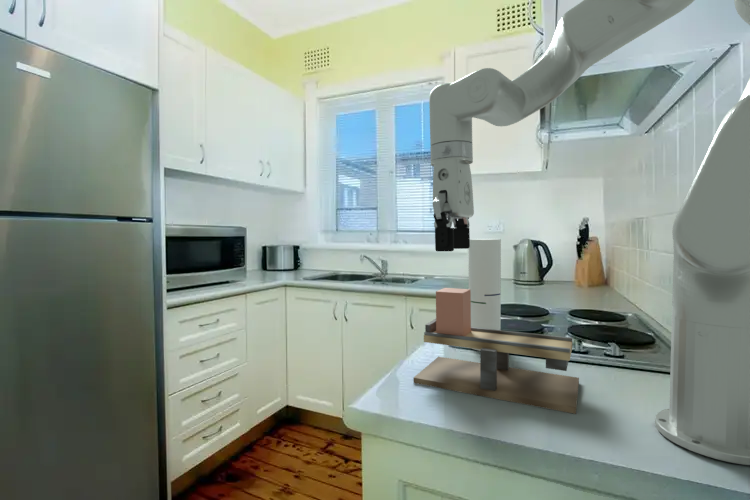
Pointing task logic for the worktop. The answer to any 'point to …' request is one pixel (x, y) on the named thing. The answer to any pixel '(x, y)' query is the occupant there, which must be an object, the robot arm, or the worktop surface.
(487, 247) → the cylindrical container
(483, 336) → the beam
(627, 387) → the worktop surface
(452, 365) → the stand
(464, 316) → the block
